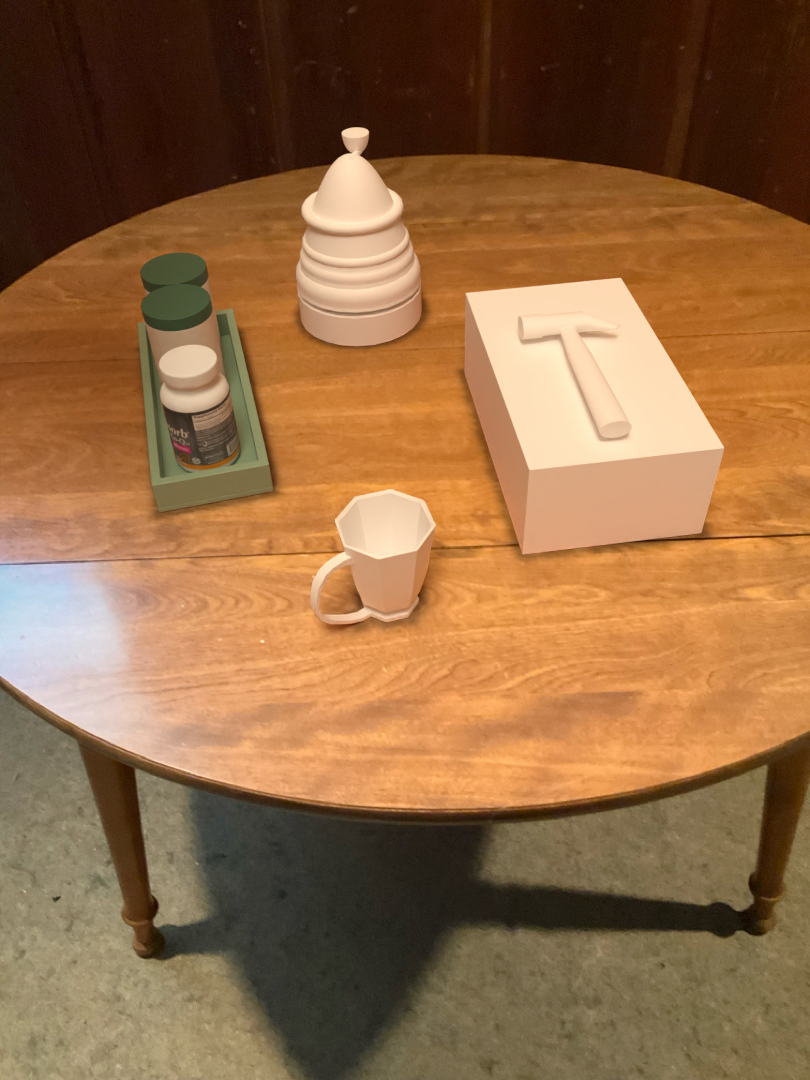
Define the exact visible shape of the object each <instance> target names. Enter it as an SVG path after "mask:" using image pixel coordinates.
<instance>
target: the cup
mask: <svg viewBox="0 0 810 1080" xmlns="http://www.w3.org/2000/svg"><path fill="white" fill-rule="evenodd" d="M429 509H430V508H429V507H428V505H427V503H426V501H425V500H424V499H422V498H419V497H416V496H413V495H411V494H407V493H405V492H402V491H399V490H396V489H393V488H388V489H382V490H379V491H374V492H371V493H365V494H361V495H360V494H359V495H355V496H353V498H352V499H350V501H349V502H348V503H347V504H346V506H345V507H344V508H343V509H342V510H341V512H340V513H339V514H338V515H337V516H336V518H335V519H334V523H335V526H336V527H335V528H336V529H337V534H338V536H339V539H340V543H341V546H342V548H343V552H340V553H338V554H336V555H334V556H333V557H332V558H330V559H328V560H327V561H326V562H324V564H323V565H322V566H321V567H319V569H318V571H317V572H316V575H315V577H314V578H313V580H312V581H311V587H310V593H309V607H310V610H311V611H312V613H314V616H316V617H317V618H318V620H320V622H323V623H326V624H329V625H350V624H351V625H352V624H357V623H360V622H364V621H366V620H367V619H369V618H374V619H376V620H379V621H381V622H384V623H389V622H394V621H398V620H399V621H400V620H402V619H407V618H409V617H410V615H411V614H412V613H413V612H414V610H415V608H416V607H417V606H418V604H419V602H420V598H419V596H418V595H419V594H420V592H421V589H422V587H423V585H424V581H425V578H426V576H427V573H428V568H429V563H430V558H431V553H432V548H433V543H434V537H435V533H436V527H437V524H436V522H435V520H434V518H433V515H432V514H431V511H430V510H429ZM347 566H348V568H349V571H350V574H351V577H352V579H353V582H354V585H355V588H356V591H357V593H358V595H359V597H360V601H361V603H362V607H363V608H361V609H359V610H358V611H354V612H350V613H345V614H330V613H329V614H328V613H323V612H321V597H322V590H323V588H324V586H325V584H326V583H327V581H328V579H329V578H330V576H331V575H332V574H333V573H334V572H335V571H337V570H340V569H342V568H344V567H347Z"/></svg>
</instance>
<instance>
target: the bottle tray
mask: <svg viewBox="0 0 810 1080" xmlns="http://www.w3.org/2000/svg"><path fill="white" fill-rule="evenodd" d="M215 312H216V317H217V322H218V327H219V332H220V337H221V343H222V348H223V353H224V360H223V364H224V369H225V374H226V379H227V382H228V385H229V389H230V394H231V400H232V405H233V411H234V416H235V421H236V426H237V431H238V436H239V442H240V452H239V455H238V457H237V459H236V460H235V461H234V462H233V463H232V464H231V465H230V466H225V467H219V468H214V469H208V470H203V471H197V472H189V471H186V470H185V469H183V468H182V467H181V466H180V465H179V464H178V463H177V461H176V458H175V455H174V451H173V447H172V443H171V439H170V435H169V431H168V427H167V423H166V419H165V415H164V412H163V408H162V404H161V400H160V390H161V383H160V379H159V376H158V372H157V368H156V364H155V360H154V356H153V352H152V349H151V345H150V341H149V337H148V333H147V329H146V325H145V322H144V321H141V322H137V323H136V326H137V328H136V329H137V338H138V348H139V349H138V350H139V361H140V372H141V382H142V383H141V385H142V394H143V395H142V396H143V403H144V404H143V406H144V417H145V428H146V441H147V451H148V452H147V453H148V464H149V475H150V486H151V489H152V492H153V496H154V499H155V502H156V506H157V510H158V512H159V513H165V512H170V511H175V510H181V509H186V508H191V507H197V506H202V505H208V504H212V503H218V502H224V501H229V500H235V499H241V498H246V497H250V496H256V495H261V494H266V493H267V494H268V493H271V492H272V493H273V492H274V485H273V484H274V483H273V478H272V473H271V472H272V471H271V466H270V462H269V457H268V453H267V449H266V444H265V440H264V436H263V431H262V427H261V424H260V418H259V414H258V410H257V406H256V402H255V398H254V393H253V389H252V384H251V381H250V375H249V371H248V367H247V363H246V358H245V355H244V350H243V346H242V342H241V338H240V333H239V328H238V325H237V320H236V316H235V312H234V308H226V309H219V310H215Z"/></svg>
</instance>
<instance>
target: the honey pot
mask: <svg viewBox="0 0 810 1080" xmlns="http://www.w3.org/2000/svg"><path fill="white" fill-rule="evenodd" d="M341 139H342V141H343V144H344V147H345V148H346V150H347V151H348V152H349V153H345V154H343V155H341V156H339V157H337V158H336V159H335V160H334V161H333V163H332V164H331V165H330V167H329V168H328V169H327V171H326V173H325V175H324V177H323V179H322V181H321V182H320V185H319V187H318V190H316V191H315V192H313V193H311V194H310V195H308V197H307V198H305V199H304V201H303V203H302V205H301V208H300V211H301V213H300V214H301V217H302V219H303V221H304V222H305V223H306V224H307V226H306V229H305V232H304V233H303V236H302V238H301V249H300V251H299V260H298V262H297V264H296V265H295V281H296V289H297V298H298V299H297V300H298V307H299V314H300V322H301V324H302V326H303V328H304V329H305V331H307V332H308V333H309V334H310V335H312V336H313V337H314V338H316V339H318V340H321V341H323V342H325V343H328V344H333V345H337V346H347V347H367V346H375V345H379V344H383V343H389V342H391V341H393V340H396V339H398V338H401V337H403V336H404V335H406V334H407V333H409V332H411V331H412V330H413V329H414V328H415V327H416V325H417V324H418V323H419V322H420V320H421V316H422V313H423V312H422V311H423V307H422V282H421V281H422V277H421V272H422V269H421V265H420V260H419V257H418V255H417V254H416V252H415V249H414V246H413V242H412V241H411V237H410V233H409V229H408V228H407V227H406V225H405V224H404V222H403V220H402V217H401V216H402V214H403V211H404V208H405V207H404V203H403V199H402V197H401V196H400V195H399V194H398V193H397V192H396V191H394V190H392V189H390V188H389V187H387V185H386V184H385V182H384V180H383V178H382V177H381V175H380V174H379V173H378V171H377V170H376V169H375V168H374V166H373V165H372V164H371V163H370V162H369V161H368V160H367V159H365V158H364V157H363V156H361V155H362V154H363V152H364V150H366V148H367V146H368V143H369V139H370V131H369V130H368V129H367V128H365V127H358V126H357V127H356V126H355V127H349V128H346V129H343V130H342V131H341Z"/></svg>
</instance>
